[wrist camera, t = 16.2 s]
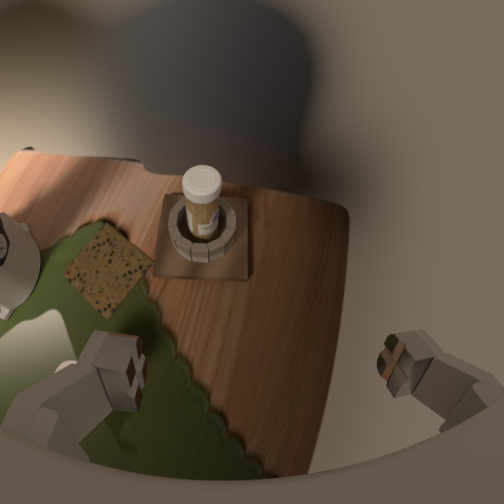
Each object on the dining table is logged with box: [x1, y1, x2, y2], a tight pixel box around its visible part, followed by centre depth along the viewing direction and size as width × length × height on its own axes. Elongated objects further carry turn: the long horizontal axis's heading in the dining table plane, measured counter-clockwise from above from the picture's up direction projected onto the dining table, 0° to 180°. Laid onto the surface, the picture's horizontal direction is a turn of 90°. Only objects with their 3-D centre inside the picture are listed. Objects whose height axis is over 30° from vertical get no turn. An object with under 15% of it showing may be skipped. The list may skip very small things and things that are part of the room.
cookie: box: [64, 223, 154, 319], centre depth 39 cm, size 12×12×1 cm
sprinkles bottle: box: [182, 165, 222, 244], centre depth 36 cm, size 5×5×13 cm
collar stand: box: [153, 194, 248, 282], centre depth 41 cm, size 14×14×6 cm
